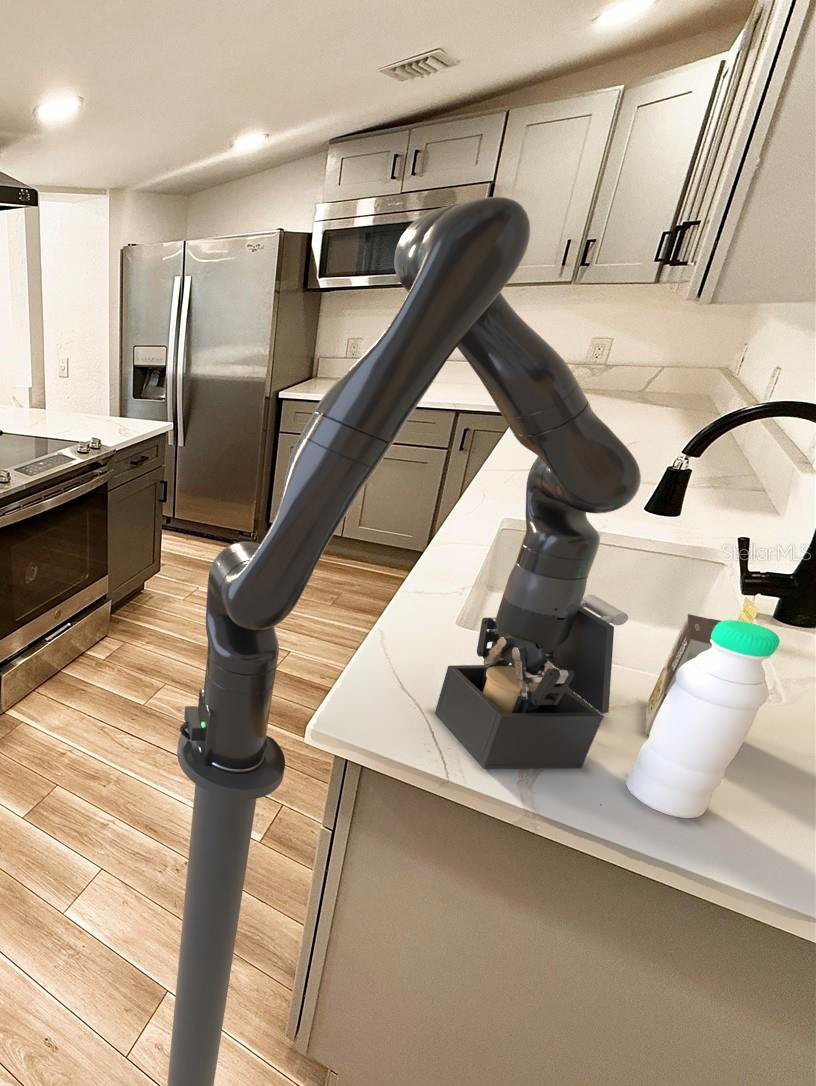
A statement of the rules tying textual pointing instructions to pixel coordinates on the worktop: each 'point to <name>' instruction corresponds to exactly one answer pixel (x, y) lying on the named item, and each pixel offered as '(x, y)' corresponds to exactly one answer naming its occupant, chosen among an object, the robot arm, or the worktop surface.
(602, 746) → the worktop surface
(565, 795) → the worktop surface
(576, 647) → the lid
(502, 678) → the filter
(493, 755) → the hinged dark box
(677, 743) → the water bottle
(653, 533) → the worktop surface
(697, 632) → the coffee box
